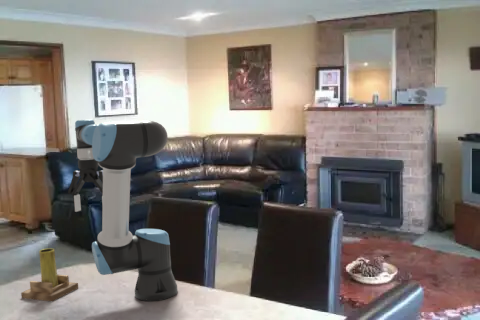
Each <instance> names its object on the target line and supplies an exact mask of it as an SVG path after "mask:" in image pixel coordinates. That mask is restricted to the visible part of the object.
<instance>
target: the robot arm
mask: <svg viewBox="0 0 480 320" xmlns="http://www.w3.org/2000/svg"><path fill="white" fill-rule="evenodd" d="M74 124H75V125H74V131H75V139H76V140H75V141H76V151H77V155H76V156H77V159H78V160H77V165H78V166H77V168H78V169H79V170H73V171H72V178H71V181H70V183H69V188H68V191H67V193H68V194H69V195H72V203H73V204H74V212H76V213H77V212H80V211H82V207H81V206H82V204H81V196H80V195H81V194H79V193H80V192H81V189H82V188H83V186H84V184H85V183H93V184H94V185H95V186H96V187H97V189H98V191H100V192H101V193H102V196H101V202H102V203H101V204H102V213H101V214H102V217H101V219H102V225H101V231H100V232H99V233H98V234H97V240H95V241H93V242H92V243H91V251H92V256H93V259H94V263H95V266H96V271H98V273H99V274H100V275H102V276H107V275H114V274H118V273H123V272H128V271H133V270H137V272H138V273H137V274H138V275H137V279H136V283H135V288H134V297H135V298H136V299H137V300H140V301H145V302H156V301H162V300H163V301H164V300H166V299H170V298H172V297H174V296H175V295H177V294H178V292H179V291H178V284H177V281H176V278H175V276H174V274H173V271H172V259H171V243H170V242H171V241H170V237H169V233H168V232H167V231H165V230H164V229H163V230H162V229H159V228H140V229H136V231H135V232H134V235H133V233H132V232H131V231H130V229H129V225H130V223H129V222H130V200H131V199H130V198H131V197H130V196H131V193H130V192H131V170H132V169H133V168H135V166H136V164H137V159H138V158H145V157H146V158H147V157H151V156H153V155H156V154H158V153H160V152H161V151H162V150H164V148H165V147H166V145H167V143H168V133H167V129H166V128H165V127H164V126H163V125H162V124H160V123H159V122H156V121H154V120H147V119H146V120H145V119H143V120H128V121H127V120H126V121H108V122H107V121H106V122H100V123H99V124H98V123H97V124H95V120H94V119H81V120H79V119H78V120H76V121H75V123H74ZM98 167H100V168H101V169H102V170H98Z"/></svg>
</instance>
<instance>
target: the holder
mask: <svg viewBox="0 0 480 320" xmlns="http://www.w3.org/2000/svg"><path fill="white" fill-rule="evenodd" d="M57 277H58V284H59V285H58V286H56V287H53V286H52V283H49V282H41V281H36V280H30V281H29V289H27V290H24V291H22V292H21V293H20V294H21V295H20V296H21V299H26V300H34V301H35V300H37V301H44V302H54V301H56V300H58V299H60V298H62V297H63V296H66V295H68V294H69V293H71V292H73V291H75V290H78V289H79V283H78V282H71V281H70V280H69V279H70V278H69V275H67V274H66V275H65V274H58V273H57Z"/></svg>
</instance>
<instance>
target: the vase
mask: <svg viewBox="0 0 480 320" xmlns="http://www.w3.org/2000/svg"><path fill="white" fill-rule="evenodd" d="M38 253H39V262H40V263H39V264H40V266H39V267H40V276H41V277H40V279H41V281H40V282H49V283H52V286H53V287H56V286H58V285H59V284H58V277H57V274H58V272H57V264H56V263H57V262H56V253H55V248H52V247H51V248H50V247H49V248H43V249H39V251H38Z"/></svg>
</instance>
